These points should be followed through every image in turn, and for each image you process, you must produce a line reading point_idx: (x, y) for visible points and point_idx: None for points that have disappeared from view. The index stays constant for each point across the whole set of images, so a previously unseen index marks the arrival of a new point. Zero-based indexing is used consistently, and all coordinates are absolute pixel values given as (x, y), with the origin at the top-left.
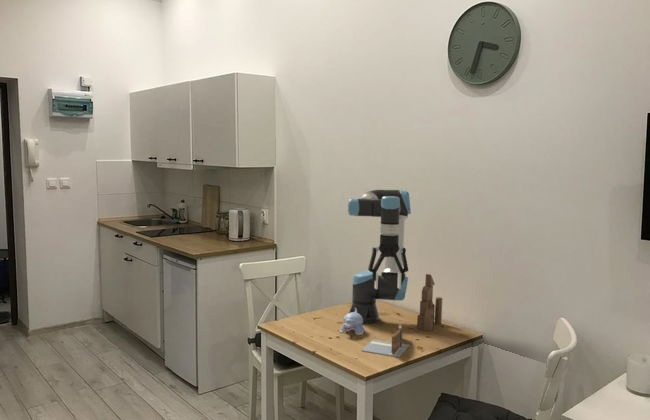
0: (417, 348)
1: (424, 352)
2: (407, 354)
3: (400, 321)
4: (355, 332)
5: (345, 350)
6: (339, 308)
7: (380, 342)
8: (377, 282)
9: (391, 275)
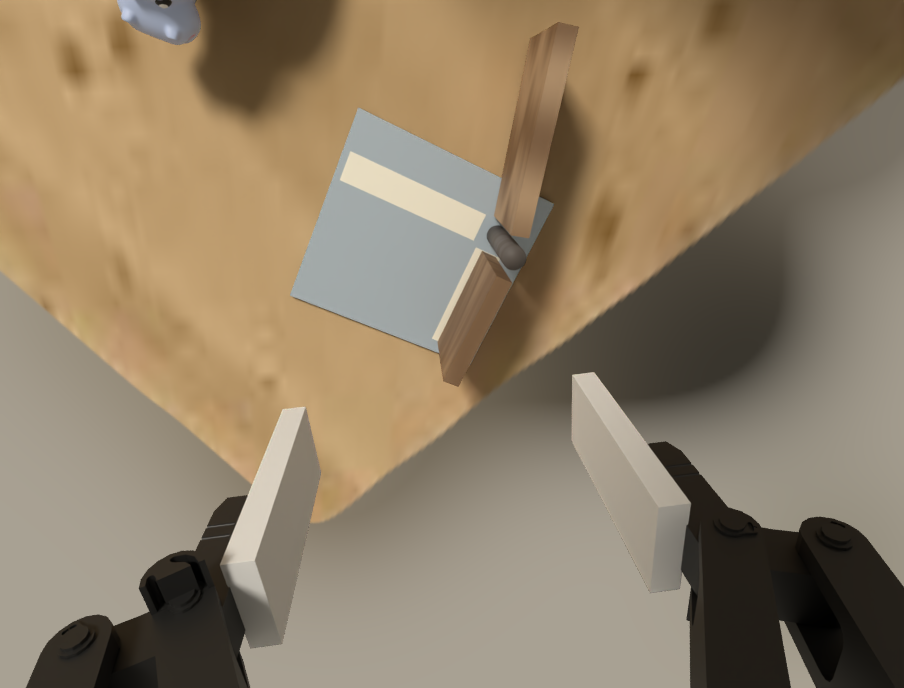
0: (587, 239)
1: (603, 294)
2: (515, 324)
3: (563, 57)
4: None
5: (206, 288)
6: None
7: (401, 167)
8: (302, 531)
9: None
